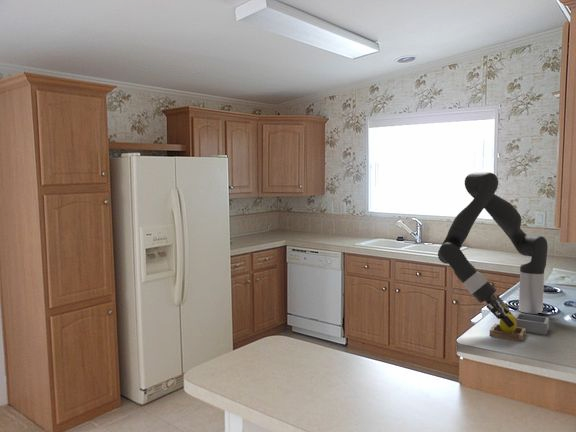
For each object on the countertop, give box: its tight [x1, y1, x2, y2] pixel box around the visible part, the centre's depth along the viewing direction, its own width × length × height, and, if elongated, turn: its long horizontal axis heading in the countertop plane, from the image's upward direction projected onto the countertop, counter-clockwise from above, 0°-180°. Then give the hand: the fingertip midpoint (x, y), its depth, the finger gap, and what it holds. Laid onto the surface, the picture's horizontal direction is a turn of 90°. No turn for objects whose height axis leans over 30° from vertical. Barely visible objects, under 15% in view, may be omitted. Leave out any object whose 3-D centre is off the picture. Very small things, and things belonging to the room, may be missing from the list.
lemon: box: [499, 313, 517, 333], centre depth 164 cm, size 6×6×8 cm
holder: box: [514, 312, 550, 336], centre depth 172 cm, size 11×11×4 cm
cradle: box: [489, 323, 527, 342], centre depth 164 cm, size 10×10×2 cm
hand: (513, 323), depth 163 cm, fingers open, 6 cm apart
